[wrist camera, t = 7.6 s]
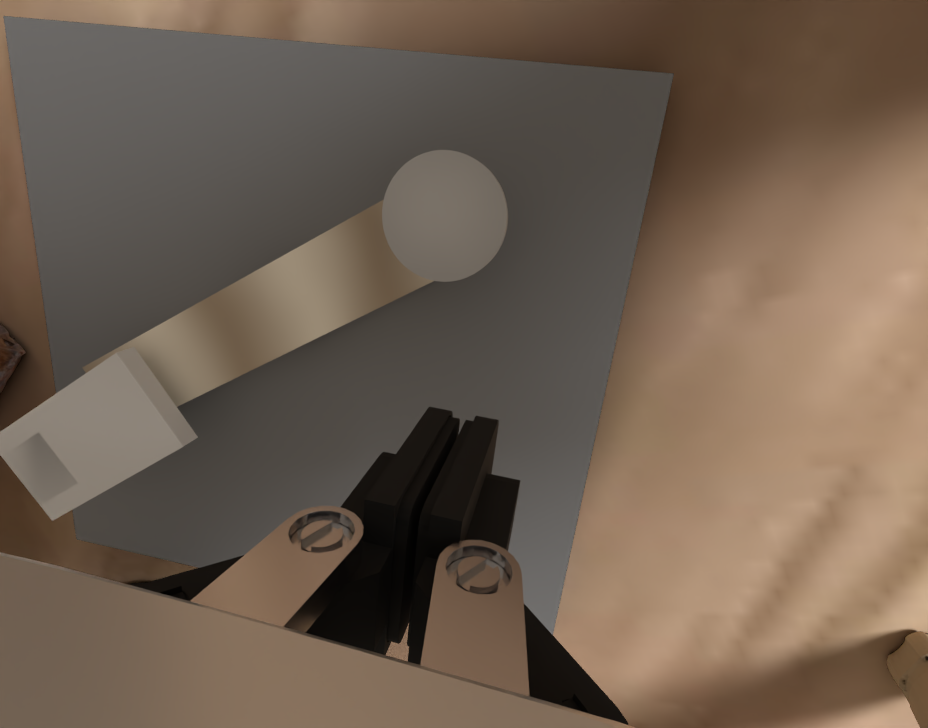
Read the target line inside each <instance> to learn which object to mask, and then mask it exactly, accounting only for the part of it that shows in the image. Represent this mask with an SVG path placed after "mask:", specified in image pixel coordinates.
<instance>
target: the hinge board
mask: <svg viewBox="0 0 928 728" xmlns="http://www.w3.org/2000/svg"><path fill="white" fill-rule="evenodd" d="M4 23H5V31H6V38H7V45H8V52H9V59H10V67H11V74H12V81H13V88H14V95H15V102H16V110H17V117H18V124H19V131H20V138H21V145H22V153H23V160H24V167H25V174H26V181H27V188H28V196H29V203H30V210H31V217H32V224H33V231H34V239H35V246H36V253H37V260H38V267H39V274H40V282H41V289H42V296H43V303H44V310H45V318H46V325H47V332H48V339H49V346H50V353H51V361H52V368H53V375H54V382H55V389H56V394H55V395H53V396H52V397H50V398H49V399H48V400H46V401H45V402H43V403H42V404H40V405H39V406H37V407H36V408H34V409H33V410H31V411H30V412H28V413H27V414H25V415H24V416H23V417H21V418H20V419H18V420H17V421H15V422H14V423H12V424H11V425H9V426H8V427H6V428H5V429H3V430H2V431H0V455H1V457H2V458H3V459H4V460H5V462H6V463H7V464H8V466H9V467H10V468H11V469H12V471H13V472H14V473H15V474H16V476H17V477H18V478H19V479H20V481H21V482H22V483H23V485H24V486H25V487H26V488H27V490H28V491H29V492H30V493H31V495H32V496H33V497H34V498H35V500H36V501H37V502H38V503H39V505H40V506H41V507H42V509H43V510H44V511H45V512H46V514H47V515H48V516H49V517H50V519H51V520H52V521H53V520H55V519H57V518H58V517H60V516H62V515H64V514H66V513H67V512H69V511H71V510H72V511H73V518H74V525H75V533H76V539H77V540H82V541H86V542H90V543H95V544H99V545H103V546H108V547H112V548H116V549H121V550H125V551H129V552H134V553H138V554H142V555H147V556H151V557H155V558H159V559H164V560H168V561H172V562H177V563H181V564H185V565H190V566H194V567H198V568H200V567H204V566H207V565H211V564H214V563H218V562H221V561H225V560H228V559H232V558H236V557H239V556H243V555H245V554H246V553H248V552H249V551H250V550H251V549H252V548H254V547H255V546H256V545H257V544H258V543H259V542H261V541H262V540H263V539H264V538H265V537H267V536H268V535H269V534H270V533H271V532H273V531H274V530H275V529H276V528H277V527H278V526H280V525H281V524H282V523H283V522H284V521H286V520H287V519H288V518H289V517H291V516H292V515H294V514H296V513H297V512H299V511H302V510H305V509H307V508H311V507H317V506H336V507H341V506H342V504H343V503H344V502H345V500H346V499H347V498H348V496H349V495H350V494H351V492H352V491H353V490H354V488H355V487H356V486H357V484H358V483H359V482H360V480H361V479H362V478H363V476H364V475H365V474H366V472H367V471H368V470H369V468H370V467H371V466H372V464H373V463H374V462H375V461H376V459H377V458H378V457H379V455H380V454H381V453H382V452H389V453H393V454H396V453H397V452H398V450H399V449H400V447H401V446H402V445H403V443H404V442H405V440H406V439H407V437H408V436H409V435H410V433H411V432H412V430H413V429H414V427H415V426H416V424H417V423H418V422H419V420H420V419H421V417H422V416H423V414H424V413H425V412H426V410H427V409H428V407H434V408H440V409H445V410H450V411H452V413H453V417H454V418H459V419H460V426H459V433H460V431H461V428H462V426H463V424H464V422H465V421H466V420H470V421H473V420H474V418H475V416H481V417H486V418H491V419H497V420H499V426H498V433H497V440H496V447H495V453H494V460H493V467H492V474H493V475H498V476H503V477H507V478H512V479H517V480H520V487H519V493H518V498H517V504H516V510H515V516H514V521H513V527H512V533H511V538H510V543H509V548H508V552H509V553H510V554H512V555H513V556H514V558H515V559H516V561H517V562H518V563H519V565H520V569H521V573H522V584H523V600H524V604H525V605H526V606H527V607H528V608H529V609H530V611H531V612H532V613H533V614H534V615H535V616H536V617H537V618H538V619H539V621H540V622H541V623H542V624H543V625H544V626H545V627H546V628H547V630H548V631H549V632H550V633H551V634H552V635H553V631H554V627H555V622H556V617H557V613H558V608H559V603H560V599H561V594H562V589H563V585H564V580H565V576H566V571H567V566H568V562H569V557H570V552H571V548H572V543H573V539H574V534H575V529H576V525H577V520H578V515H579V511H580V506H581V501H582V497H583V492H584V488H585V483H586V478H587V474H588V469H589V464H590V460H591V455H592V451H593V446H594V441H595V437H596V432H597V427H598V423H599V418H600V414H601V409H602V404H603V400H604V395H605V390H606V386H607V381H608V376H609V372H610V367H611V363H612V358H613V353H614V349H615V344H616V339H617V335H618V330H619V326H620V321H621V316H622V312H623V307H624V302H625V298H626V293H627V288H628V284H629V279H630V275H631V270H632V265H633V261H634V256H635V251H636V247H637V242H638V238H639V233H640V228H641V224H642V219H643V214H644V210H645V205H646V200H647V196H648V191H649V187H650V182H651V177H652V173H653V168H654V163H655V159H656V154H657V150H658V145H659V140H660V136H661V131H662V126H663V122H664V117H665V112H666V108H667V103H668V99H669V94H670V89H671V85H672V80H673V75H674V74H673V73H661V72H649V71H638V70H626V69H615V68H603V67H591V66H580V65H568V64H556V63H545V62H533V61H522V60H510V59H498V58H487V57H475V56H463V55H452V54H440V53H428V52H417V51H405V50H394V49H382V48H370V47H359V46H347V45H335V44H324V43H312V42H300V41H289V40H277V39H266V38H254V37H242V36H231V35H219V34H207V33H196V32H184V31H172V30H161V29H149V28H138V27H126V26H114V25H103V24H91V23H79V22H68V21H56V20H45V19H33V18H21V17H10V16H4ZM382 200H384V201H383V207H382V223H383V229H384V233H385V237H386V239H387V242H388V244H389V246H390V248H391V250H392V252H393V253H394V255H395V256H396V258H397V259H398V260H399V261H400V262H401V263H402V264H403V265H404V266H405V267H406V268H407V269H409V270H410V271H412V272H413V273H415V274H417V275H419V276H421V277H423V278H426V279H429V280H433V282H431V283H429V284H427V285H425V286H423V287H421V288H419V289H416V290H414V291H412V292H410V293H408V294H406V295H404V296H402V297H400V298H398V299H396V300H394V301H392V302H390V303H388V304H386V305H384V306H382V307H380V308H378V309H376V310H374V311H372V312H370V313H367V314H365V315H363V316H361V317H359V318H357V319H355V320H353V321H351V322H349V323H347V324H345V325H343V326H341V327H339V328H337V329H335V330H333V331H331V332H329V333H327V334H325V335H323V336H321V337H318V338H316V339H314V340H312V341H310V342H308V343H306V344H304V345H302V346H300V347H298V348H296V349H294V350H292V351H290V352H288V353H286V354H284V355H282V356H280V357H278V358H276V359H274V360H272V361H269V362H267V363H265V364H263V365H261V366H259V367H257V368H255V369H253V370H251V371H249V372H247V373H245V374H243V375H241V376H239V377H237V378H235V379H233V380H231V381H229V382H227V383H225V384H223V385H220V386H218V387H216V388H214V389H212V390H210V391H208V392H206V393H204V394H202V395H200V396H198V397H196V398H194V399H192V400H190V401H188V402H186V403H184V404H182V405H180V406H178V407H176V405H175V404H174V403H173V401H172V400H171V398H170V397H169V395H168V394H167V393H166V391H165V390H164V388H163V387H162V386H161V384H160V383H159V381H158V380H157V378H156V377H155V376H154V374H153V373H152V371H151V370H150V369H149V367H148V366H147V364H146V363H145V361H144V360H143V359H142V357H141V356H140V354H139V353H138V352H137V350H136V349H135V347H132V348H129V349H126V350H123V351H120V352H117V353H115V354H114V355H112V356H111V357H109V358H108V359H106V360H105V361H103V362H102V363H100V364H99V365H98V366H96V367H95V368H93V369H92V370H90V371H89V372H87V373H86V372H85V371H84V369H83V368H82V367H84V366H86V365H88V364H90V363H91V362H93V361H95V360H97V359H99V358H100V357H102V356H104V355H106V354H107V353H109V352H111V351H113V350H115V349H116V348H118V347H120V346H122V345H124V344H125V343H127V342H129V341H131V340H133V339H134V338H136V337H138V336H140V335H142V334H143V333H145V332H147V331H149V330H151V329H152V328H154V327H156V326H158V325H160V324H161V323H163V322H165V321H167V320H168V319H170V318H172V317H174V316H176V315H177V314H179V313H181V312H183V311H185V310H186V309H188V308H190V307H192V306H194V305H195V304H197V303H199V302H201V301H203V300H204V299H206V298H208V297H210V296H212V295H213V294H215V293H217V292H219V291H220V290H222V289H224V288H226V287H228V286H229V285H231V284H233V283H235V282H237V281H238V280H240V279H242V278H244V277H246V276H247V275H249V274H251V273H253V272H255V271H256V270H258V269H260V268H262V267H264V266H265V265H267V264H269V263H271V262H273V261H274V260H276V259H278V258H280V257H281V256H283V255H285V254H287V253H289V252H290V251H292V250H294V249H296V248H298V247H299V246H301V245H303V244H305V243H307V242H308V241H310V240H312V239H314V238H316V237H317V236H319V235H321V234H323V233H325V232H326V231H328V230H330V229H332V228H333V227H335V226H337V225H339V224H341V223H342V222H344V221H346V220H348V219H350V218H351V217H353V216H355V215H357V214H359V213H360V212H362V211H364V210H366V209H368V208H369V207H371V206H373V205H375V204H377V203H378V202H380V201H382ZM458 435H459V434H458Z"/></svg>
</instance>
